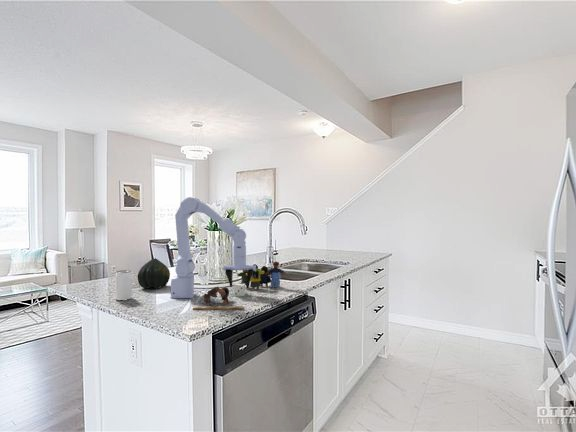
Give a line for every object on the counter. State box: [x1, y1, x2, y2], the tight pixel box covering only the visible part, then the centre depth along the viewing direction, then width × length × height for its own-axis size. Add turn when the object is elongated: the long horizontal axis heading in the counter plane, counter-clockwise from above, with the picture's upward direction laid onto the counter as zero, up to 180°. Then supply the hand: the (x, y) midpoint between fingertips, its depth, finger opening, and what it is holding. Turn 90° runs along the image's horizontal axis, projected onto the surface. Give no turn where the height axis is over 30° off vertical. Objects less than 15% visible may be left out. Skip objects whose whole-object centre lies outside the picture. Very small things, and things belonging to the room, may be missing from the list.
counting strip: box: [192, 305, 244, 311], centre depth 126 cm, size 19×2×1 cm, turn 90°
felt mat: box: [230, 292, 249, 298], centre depth 147 cm, size 7×7×1 cm
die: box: [233, 283, 246, 296], centre depth 147 cm, size 5×5×5 cm
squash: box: [137, 257, 171, 290], centre depth 163 cm, size 14×15×15 cm
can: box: [114, 269, 133, 301], centre depth 141 cm, size 6×6×12 cm
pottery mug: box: [202, 286, 230, 306], centre depth 134 cm, size 12×9×8 cm
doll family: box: [236, 261, 287, 290], centre depth 161 cm, size 23×9×13 cm, turn 118°
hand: (239, 286), depth 147 cm, fingers open, 7 cm apart
